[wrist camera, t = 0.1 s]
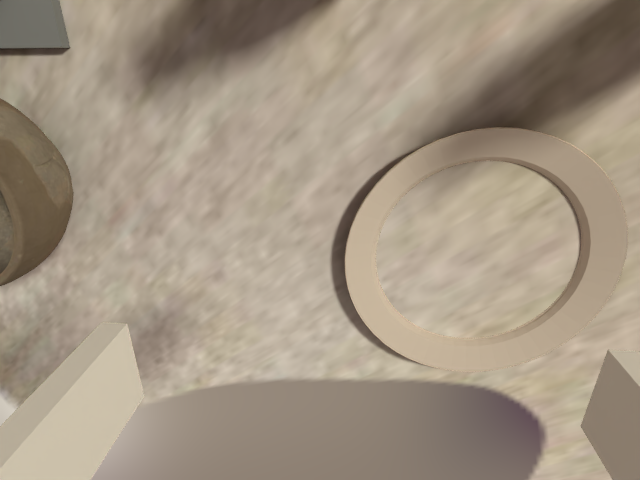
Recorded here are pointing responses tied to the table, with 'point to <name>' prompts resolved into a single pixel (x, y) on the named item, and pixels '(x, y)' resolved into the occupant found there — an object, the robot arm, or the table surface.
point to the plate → (551, 325)
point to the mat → (32, 24)
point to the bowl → (29, 195)
